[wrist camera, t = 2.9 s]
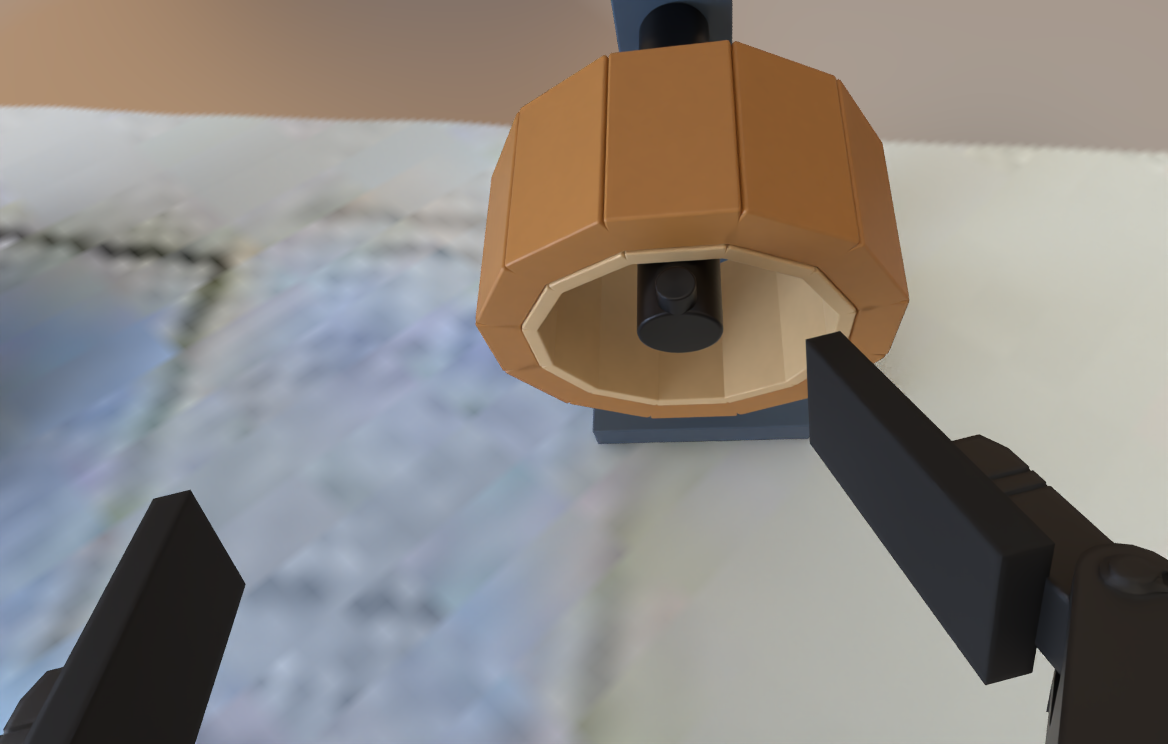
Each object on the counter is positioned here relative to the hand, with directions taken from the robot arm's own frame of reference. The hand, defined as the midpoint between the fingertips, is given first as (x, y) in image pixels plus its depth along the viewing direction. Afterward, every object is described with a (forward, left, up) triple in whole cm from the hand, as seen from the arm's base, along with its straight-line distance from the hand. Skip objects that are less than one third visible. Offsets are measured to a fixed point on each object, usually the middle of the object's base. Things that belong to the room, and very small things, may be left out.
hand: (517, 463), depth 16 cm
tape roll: (-3, +6, -2) cm, 7 cm away
